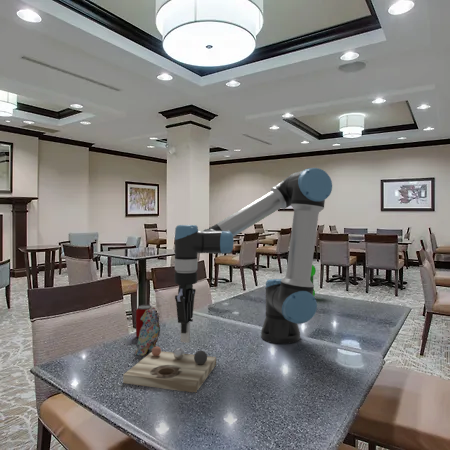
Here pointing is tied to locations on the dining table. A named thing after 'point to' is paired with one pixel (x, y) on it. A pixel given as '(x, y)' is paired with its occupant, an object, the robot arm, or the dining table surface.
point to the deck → (170, 372)
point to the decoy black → (200, 357)
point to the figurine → (148, 332)
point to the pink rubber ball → (156, 351)
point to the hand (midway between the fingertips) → (185, 341)
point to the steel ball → (178, 353)
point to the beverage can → (139, 314)
